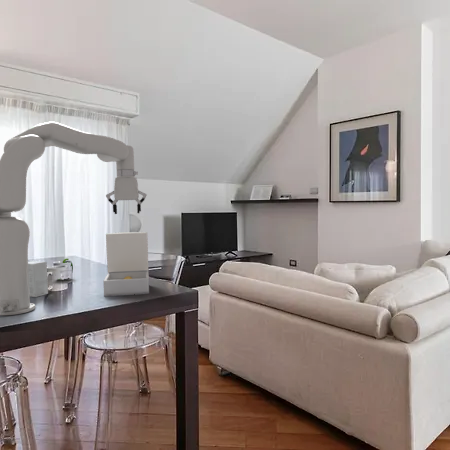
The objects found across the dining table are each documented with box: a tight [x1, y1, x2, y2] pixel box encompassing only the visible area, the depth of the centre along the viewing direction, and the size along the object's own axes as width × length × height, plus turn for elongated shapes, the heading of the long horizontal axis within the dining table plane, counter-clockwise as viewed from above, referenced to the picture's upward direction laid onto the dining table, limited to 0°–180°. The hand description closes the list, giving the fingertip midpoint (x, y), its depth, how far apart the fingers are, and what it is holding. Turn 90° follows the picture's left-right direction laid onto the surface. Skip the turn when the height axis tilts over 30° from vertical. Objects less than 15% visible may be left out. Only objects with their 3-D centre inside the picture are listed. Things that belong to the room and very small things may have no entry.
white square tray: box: [103, 270, 150, 297], centre depth 159 cm, size 17×17×6 cm
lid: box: [105, 231, 149, 274], centre depth 167 cm, size 18×17×2 cm
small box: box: [28, 260, 49, 298], centre depth 154 cm, size 8×6×13 cm
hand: (127, 213), depth 171 cm, fingers open, 9 cm apart
